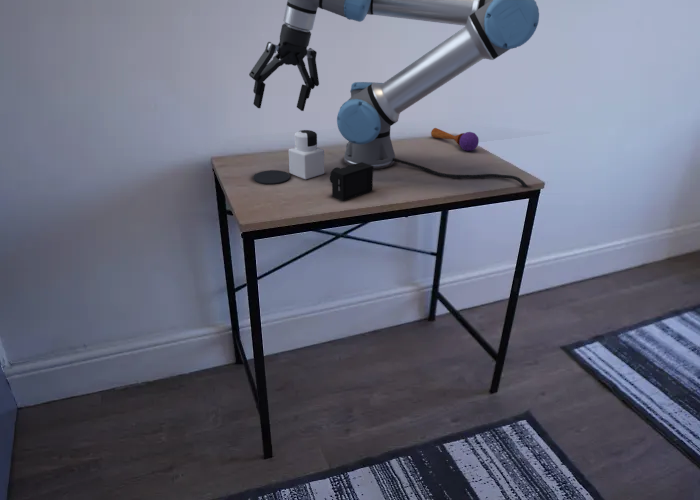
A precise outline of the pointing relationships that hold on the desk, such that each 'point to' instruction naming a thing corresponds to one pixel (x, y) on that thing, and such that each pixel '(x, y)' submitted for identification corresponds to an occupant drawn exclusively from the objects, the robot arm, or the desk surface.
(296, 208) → the desk surface
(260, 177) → the coaster
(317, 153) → the medicine bottle
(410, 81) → the robot arm
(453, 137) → the maraca
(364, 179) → the digital camera
